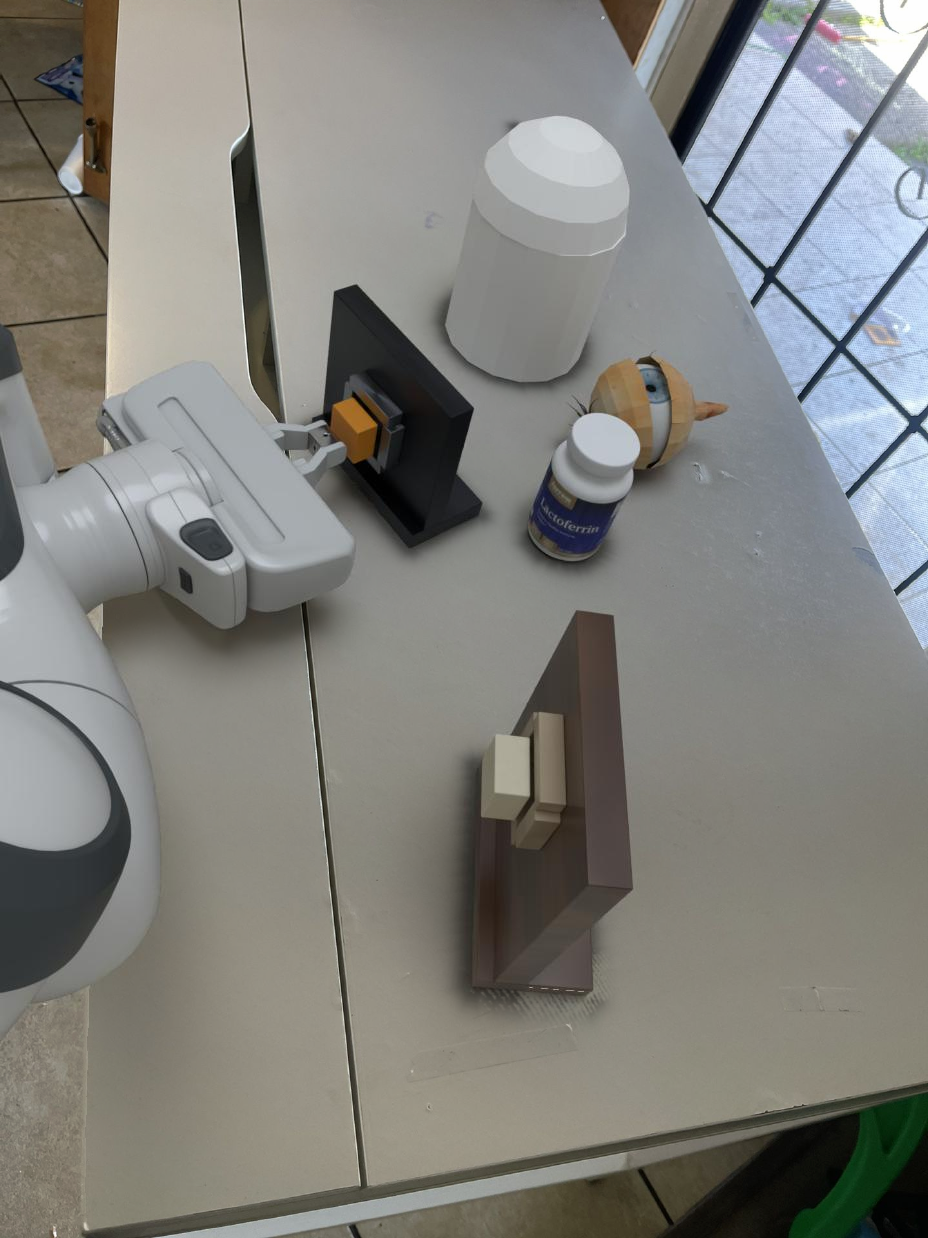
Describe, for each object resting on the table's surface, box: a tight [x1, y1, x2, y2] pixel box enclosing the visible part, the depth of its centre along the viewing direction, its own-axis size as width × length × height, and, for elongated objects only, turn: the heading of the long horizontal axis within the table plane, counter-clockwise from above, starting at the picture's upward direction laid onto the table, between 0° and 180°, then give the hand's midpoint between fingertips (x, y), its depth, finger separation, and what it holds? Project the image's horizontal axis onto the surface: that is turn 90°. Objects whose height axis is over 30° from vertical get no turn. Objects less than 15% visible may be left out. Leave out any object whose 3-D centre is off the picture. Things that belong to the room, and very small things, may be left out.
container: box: [444, 115, 631, 383], centre depth 80 cm, size 14×13×20 cm
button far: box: [331, 398, 378, 464], centre depth 67 cm, size 2×3×3 cm, turn 38°
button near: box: [481, 733, 530, 820], centre depth 46 cm, size 2×3×3 cm, turn 178°
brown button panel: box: [471, 609, 634, 997], centre depth 51 cm, size 7×14×20 cm, turn 178°
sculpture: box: [566, 350, 730, 470], centre depth 78 cm, size 9×9×15 cm
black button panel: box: [311, 283, 483, 549], centre depth 70 cm, size 7×14×14 cm, turn 38°
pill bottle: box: [527, 413, 640, 562], centre depth 71 cm, size 6×6×11 cm
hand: (335, 439), depth 66 cm, fingers closed
